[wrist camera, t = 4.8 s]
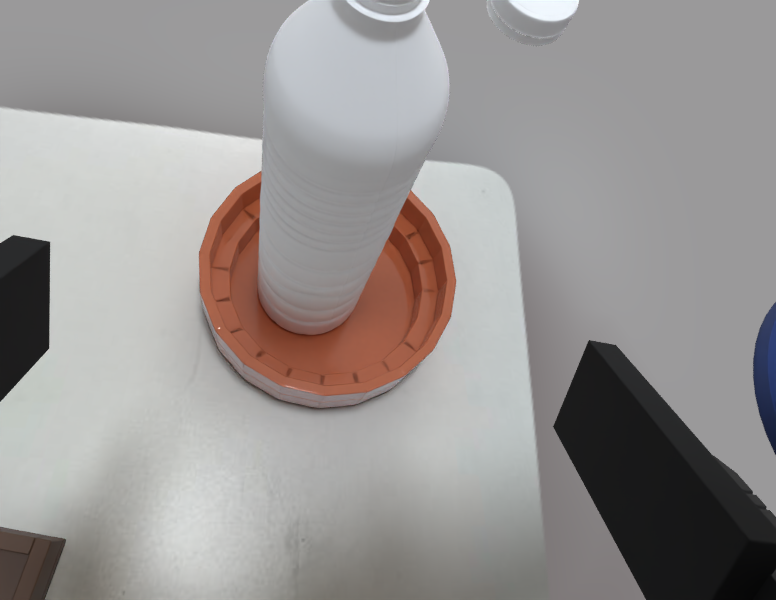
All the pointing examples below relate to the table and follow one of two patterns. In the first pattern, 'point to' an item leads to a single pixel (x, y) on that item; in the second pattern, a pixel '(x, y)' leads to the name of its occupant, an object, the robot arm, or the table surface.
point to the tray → (27, 564)
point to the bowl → (344, 343)
